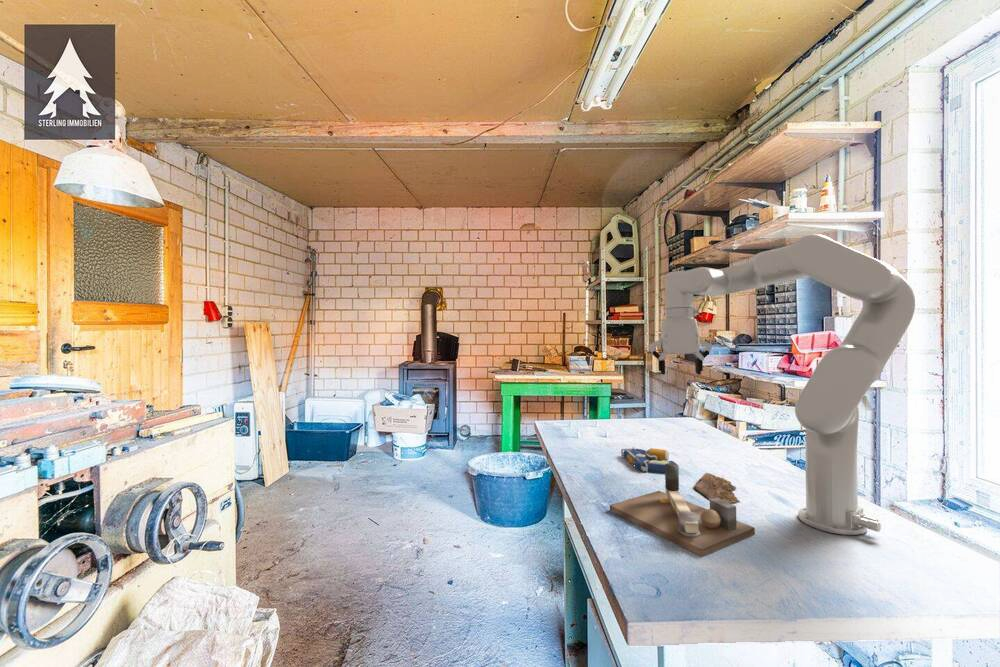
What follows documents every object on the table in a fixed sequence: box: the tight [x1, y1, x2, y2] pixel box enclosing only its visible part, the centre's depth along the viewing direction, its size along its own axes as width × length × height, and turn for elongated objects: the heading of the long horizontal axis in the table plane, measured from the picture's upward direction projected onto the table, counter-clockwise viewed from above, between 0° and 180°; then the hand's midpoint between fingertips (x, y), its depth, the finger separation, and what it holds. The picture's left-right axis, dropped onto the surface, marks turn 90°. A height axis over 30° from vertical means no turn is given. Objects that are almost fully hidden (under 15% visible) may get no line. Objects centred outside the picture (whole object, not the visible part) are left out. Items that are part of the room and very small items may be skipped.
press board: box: [609, 490, 756, 558], centre depth 103 cm, size 26×18×6 cm
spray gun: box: [620, 446, 677, 474], centre depth 147 cm, size 21×4×15 cm
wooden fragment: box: [693, 472, 741, 505], centre depth 124 cm, size 26×11×1 cm, turn 157°
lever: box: [664, 463, 699, 533], centre depth 102 cm, size 22×4×8 cm, turn 170°
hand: (680, 373), depth 126 cm, fingers open, 9 cm apart
